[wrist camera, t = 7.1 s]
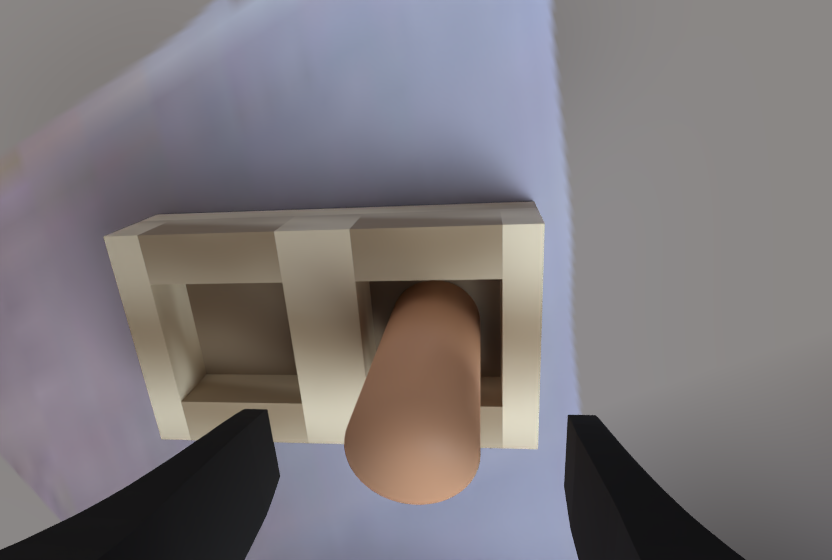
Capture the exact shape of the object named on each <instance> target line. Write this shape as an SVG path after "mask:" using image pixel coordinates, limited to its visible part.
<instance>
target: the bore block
mask: <svg viewBox="0 0 832 560" xmlns="http://www.w3.org/2000/svg"><path fill="white" fill-rule="evenodd" d="M544 227H545V223H544V221H543V219H542V217H541V215H540V213H539V211H538V209H537V207H536V204H535V202H534V201H532V202H503V203H474V204H446V205H417V206H388V207H359V208H330V209H301V210H273V211H244V212H215V213H186V214H157V215H155V216H152V217H150V218H147V219H145V220H143V221H140V222H138V223H135V224H133V225H130V226H128V227H125V228H123V229H120V230H118V231H115V232H113V233H111V234H108V235H106V236H103V237H104V241H105V244H106V248H107V251H108V255H109V258H110V262H111V265H112V269H113V272H114V276H115V279H116V283H117V286H118V290H119V293H120V297H121V300H122V303H123V307H124V310H125V314H126V317H127V321H128V324H129V328H130V331H131V335H132V338H133V342H134V345H135V349H136V352H137V356H138V359H139V363H140V366H141V370H142V373H143V377H144V380H145V383H146V387H147V390H148V394H149V397H150V401H151V404H152V408H153V411H154V415H155V418H156V422H157V425H158V429H159V432H160V436H161V439H171V440H198V439H200V438H201V437H203V436H204V435H206V434H207V433H208V432H210V431H211V430H213V429H214V428H216V427H217V426H218V425H220V424H221V423H223V422H224V421H226V420H227V419H229V418H230V417H232V416H233V415H235V414H236V413H238V412H240V411H241V410H243V409H267V410H268V415H269V420H270V426H271V431H272V436H273V441H274V442H285V443H323V444H344V438H345V432H346V429H347V426H348V423H349V420H350V418H351V415H352V413H353V410H354V408H355V405H356V403H357V400H358V397H359V395H360V392H361V390H362V387H363V385H364V382H365V380H366V377H367V374H368V372H369V369H370V367H371V364H372V362H373V359H374V357H375V354H376V351H377V349H378V346H379V344H380V341H381V339H382V336H383V334H384V331H385V328H386V326H387V323H388V321H389V318H390V316H391V313H392V310H393V308H394V305H395V303H396V301H397V300H398V298H399V297H400V295H401V294H402V293H403V292H404V291H405V290H407V289H408V288H409V287H411V286H413V285H415V284H417V283H420V282H423V281H429V280H439V281H445V282H449V283H452V284H454V285H456V286H458V287H460V288H461V289H463V290H464V291H465V292H467V293H468V294H469V295H470V296H471V298H472V299H473V300H474V302H475V304H476V306H477V308H478V310H479V314H480V448H512V449H538V428H539V395H540V361H541V328H542V294H543V260H544Z"/></svg>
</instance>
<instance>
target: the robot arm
mask: <svg viewBox="0 0 832 560" xmlns="http://www.w3.org/2000/svg"><path fill="white" fill-rule="evenodd" d="M279 478H280V473H279V468H278V463H277V457H276V452H275V447H274V441H273V436H272V431H271V426H270V420H269V415H268V410H267V409H243V410H241V411H240V412H238V413H236V414H235V415H233V416H232V417H230V418H229V419H227V420H226V421H224V422H223V423H221V424H220V425H218V426H217V427H216V428H214V429H213V430H211V431H210V432H208V433H207V434H206V435H204V436H203V437H201V438H200V439H198V440H197V441H195V442H194V443H193V444H191V445H190V446H188V447H187V448H185V449H184V450H182V451H181V452H180V453H178V454H177V455H175V456H174V457H172V458H171V459H169V460H168V461H166V462H165V463H163V464H161V465H160V466H158V467H157V468H155V469H154V470H152V471H151V472H149V473H147V474H146V475H144V476H143V477H141V478H140V479H138V480H136V481H135V482H133V483H132V484H130V485H129V486H127V487H125V488H123V489H122V490H120V491H118V492H117V493H115V494H113V495H111V496H110V497H108V498H106V499H104V500H103V501H101V502H99V503H97V504H95V505H93V506H91V507H90V508H88V509H86V510H84V511H82V512H80V513H78V514H76V515H75V516H73V517H71V518H68V519H66V520H64V521H62V522H60V523H58V524H56V525H54V526H52V527H50V528H47V529H45V530H43V531H41V532H39V533H37V534H35V535H33V536H31V537H29V538H27V539H24V540H22V541H20V542H18V543H16V544H13V545H11V546H8V547H6V548H4V549H1V550H0V560H245V558H246V556H247V554H248V552H249V550H250V548H251V546H252V544H253V542H254V540H255V538H256V536H257V534H258V532H259V530H260V528H261V526H262V523H263V521H264V519H265V517H266V515H267V512H268V510H269V507H270V504H271V502H272V499H273V496H274V493H275V490H276V487H277V484H278V481H279ZM564 488H565V495H566V502H567V509H568V515H569V522H570V528H571V532H572V536H573V540H574V544H575V548H576V551H577V555H578V559H579V560H745V559H744V558H743V557H741V556H740V555H739V554H737V553H736V552H735V551H733V550H732V549H731V548H730V547H728V546H727V545H726V544H725V543H723V542H722V541H721V540H720V539H718V538H717V537H716V536H715V535H713V534H712V533H711V532H710V531H709V530H707V529H706V528H705V527H703V526H702V525H701V524H700V523H699V522H698V521H697V520H695V519H694V518H693V517H692V516H691V515H690V514H689V513H687V512H686V511H685V510H684V509H683V508H682V507H681V506H680V505H679V504H678V503H677V502H676V501H675V500H674V499H673V498H671V497H670V496H669V495H668V494H667V493H666V492H665V491H664V490H663V489H662V488H661V487H660V486H659V485H658V484H657V483H656V482H655V481H654V480H653V479H652V477H650V475H649V474H648V473H647V472H646V471H645V470H644V469H643V468H642V467H641V466H640V465H639V464H638V463H637V462H636V461H635V460H634V458H633V457H632V456H631V455H630V454H629V453H628V452H627V451H626V450H625V449H624V447H623V446H622V445H621V444H620V443H619V441H617V439H616V438H615V437H614V436H613V435H612V433H611V432H610V431H609V430H608V429H607V427H606V426H605V425H604V424H603V423H602V422H601V420H600V419H599V418H598V417H597V416H595V415H568V423H567V443H566V462H565V481H564Z"/></svg>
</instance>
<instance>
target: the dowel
mask: <svg viewBox="0 0 832 560" xmlns="http://www.w3.org/2000/svg"><path fill="white" fill-rule="evenodd" d="M344 448H345V454H346V457H347V460H348V463H349V465H350V467H351V469H352V470H353V472H354V473H355V475H356V476H357V477H358V478H359V479H360V481H361V482H363V483H364V484H365V485H366V486H367V487H368V488H370V489H371V490H372V491H374V492H376V493H377V494H379V495H381V496H383V497H385V498H388V499H390V500H393V501H396V502H401V503H405V504H416V505H423V504H432V503H437V502H441V501H444V500H447V499H449V498H451V497H453V496H455V495H456V494H458V493H460V492H461V491H462V490H463V489H465V488H466V487H467V486H468V484H469V483H470V482H471V481H472V479H473V478H474V476H475V474H476V472H477V470H478V467H479V463H480V314H479V310H478V308H477V306H476V304H475V302H474V300H473V299H472V298H471V296H470V295H469V294H468V293H467V292H465V291H464V290H463V289H461V288H460V287H458V286H456V285H454V284H452V283H449V282H445V281H439V280H429V281H423V282H420V283H417V284H415V285H413V286H411V287H409V288H408V289H407V290H405V291H404V292H403V293H402V294H401V295H400V297H399V298H398V300H397V301H396V303H395V305H394V308H393V310H392V313H391V316H390V318H389V321H388V323H387V326H386V328H385V331H384V334H383V336H382V339H381V341H380V344H379V346H378V349H377V351H376V354H375V357H374V359H373V362H372V364H371V367H370V369H369V372H368V374H367V377H366V380H365V382H364V385H363V387H362V390H361V392H360V395H359V397H358V400H357V403H356V405H355V408H354V410H353V413H352V415H351V418H350V420H349V423H348V426H347V429H346V432H345V438H344Z"/></svg>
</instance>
